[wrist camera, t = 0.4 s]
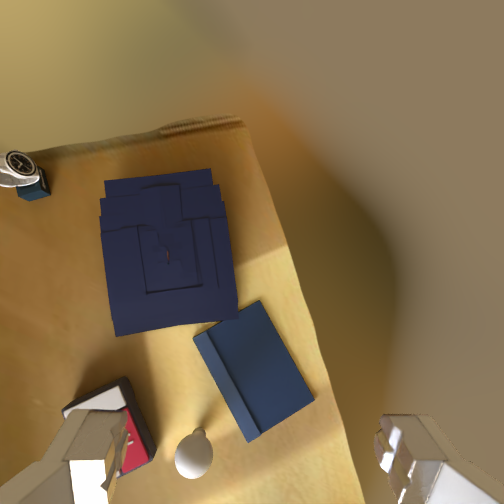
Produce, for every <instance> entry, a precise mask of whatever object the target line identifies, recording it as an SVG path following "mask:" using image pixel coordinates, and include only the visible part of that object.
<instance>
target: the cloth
mask: <svg viewBox="0 0 504 504" xmlns="http://www.w3.org/2000/svg"><path fill="white" fill-rule="evenodd" d="M238 314H239V319H234V320H224V321H222V322H220V323H218V324H217V325H215V326H213V327H211V328H210V329H208V330H206V331H204V332H203V333H201V334H199V335H197V336H195V337H194V338H193V340H194V342H195V344H196V346H197V348H198V350H199V352H200V354H201V355H202V357H203V359H204V361H205V363H206V365H207V367H208V369H209V371H210V373H211V374H212V376H213V378H214V380H215V382H216V384H217V386H218V388H219V390H220V392H221V393H222V395H223V397H224V399H225V401H226V403H227V405H228V407H229V409H230V410H231V412H232V414H233V416H234V418H235V420H236V422H237V424H238V426H239V428H240V429H241V431H242V433H243V435H244V437H245V439H246V441H247V442H248V443H249V442H251V441H252V440H254V439H255V438H257V437H259V436H260V435H261V434H262V433H264V432H265V431H267V430H268V429H270V428H271V427H273V426H275V425H276V424H278V423H279V422H281V421H283V420H284V419H286V418H287V417H289V416H291V415H292V414H294V413H295V412H297V411H299V410H300V409H302V408H303V407H305V406H306V405H308V404H310V403H311V402H313V401H314V400H315V399H314V398H313V396H312V394H311V392H310V390H309V389H308V387H307V385H306V383H305V381H304V380H303V378H302V376H301V374H300V372H299V371H298V369H297V367H296V365H295V363H294V361H293V360H292V358H291V356H290V354H289V352H288V351H287V349H286V347H285V345H284V343H283V342H282V340H281V338H280V336H279V334H278V333H277V331H276V329H275V327H274V325H273V324H272V322H271V320H270V318H269V316H268V315H267V313H266V311H265V309H264V307H263V306H262V304H261V302H260V300H259V301H257V302H255V303H253V304H252V305H250V306H248V307H246V308H245V309H243V310H241V311H239V312H238Z"/></svg>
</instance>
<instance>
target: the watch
mask: <svg viewBox="0 0 504 504" xmlns="http://www.w3.org/2000/svg"><path fill="white" fill-rule="evenodd" d="M0 170H1V172H4V173H8V174H2V173H0V186H5V187H14V186H16V190H17V193H18V197H20V198H23V199H25V200H27V201H32V200H36V199H39V198H43V197H46V196H49V195H51V193H50V190H49V186H48V182H47V179H46V175H45V171H44V170H43V169H42V168H40V167H39V166H37V165H36V164H35V162H34V161H33V160H32V159H31V158H30V157H29V156H28V155H26V154H25V153H23V152H20V151H18V150H13V151H9V152H7V153H2V154H0ZM9 174H11V175H13V176H11V175H9Z"/></svg>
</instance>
